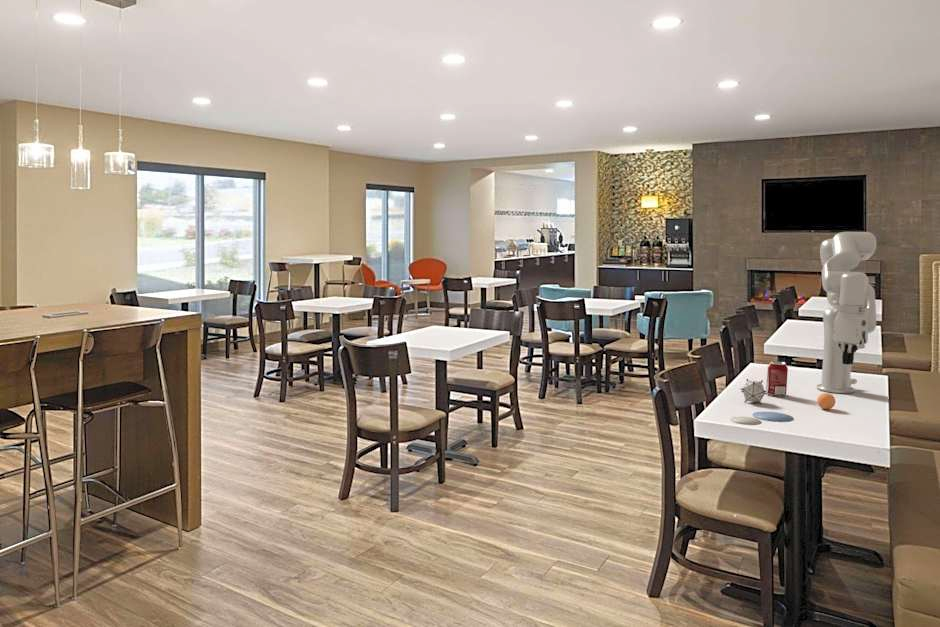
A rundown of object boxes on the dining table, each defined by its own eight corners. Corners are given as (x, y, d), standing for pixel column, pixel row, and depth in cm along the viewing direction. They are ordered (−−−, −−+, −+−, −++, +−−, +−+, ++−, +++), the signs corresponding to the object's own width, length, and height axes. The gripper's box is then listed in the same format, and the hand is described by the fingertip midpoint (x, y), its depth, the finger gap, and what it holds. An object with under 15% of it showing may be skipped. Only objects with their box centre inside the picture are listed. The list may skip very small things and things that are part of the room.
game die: (746, 412, 251) (732, 386, 255) (768, 403, 252) (754, 378, 256) (752, 405, 243) (738, 378, 247) (776, 396, 244) (761, 370, 248)
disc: (770, 410, 238) (770, 410, 238) (801, 419, 228) (801, 418, 228) (744, 414, 233) (744, 413, 233) (774, 423, 222) (774, 422, 222)
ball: (823, 406, 245) (825, 390, 244) (838, 410, 240) (839, 394, 240) (812, 408, 243) (813, 392, 242) (827, 411, 238) (828, 395, 237)
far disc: (744, 415, 231) (744, 415, 231) (767, 422, 223) (767, 422, 223) (723, 418, 227) (724, 418, 227) (746, 425, 219) (746, 425, 219)
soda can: (788, 397, 258) (790, 364, 257) (767, 396, 259) (769, 363, 258) (783, 393, 265) (785, 361, 263) (764, 392, 266) (766, 360, 265)
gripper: (879, 311, 237) (875, 366, 239) (838, 307, 250) (835, 359, 252) (864, 312, 234) (860, 368, 236) (824, 308, 247) (820, 361, 249)
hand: (847, 363), depth 244 cm, fingers closed
